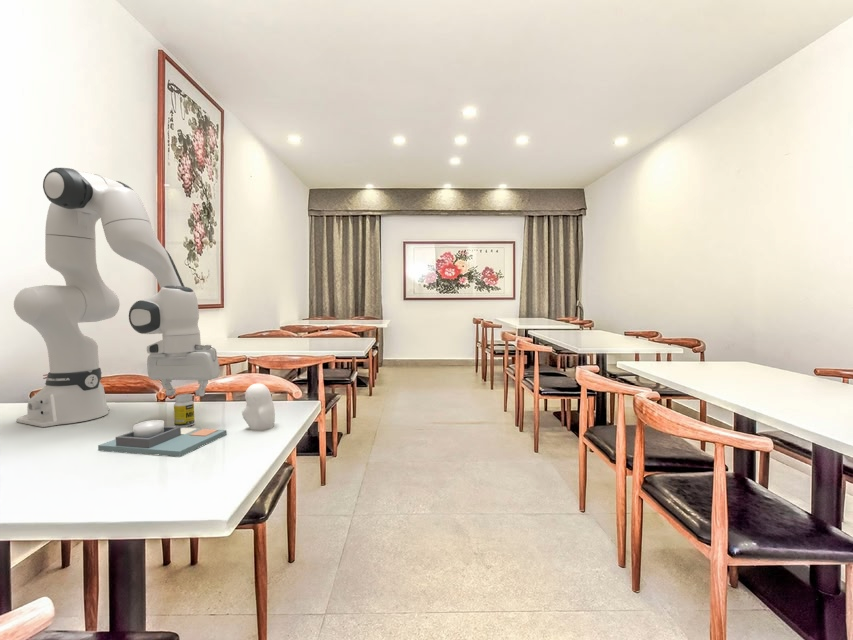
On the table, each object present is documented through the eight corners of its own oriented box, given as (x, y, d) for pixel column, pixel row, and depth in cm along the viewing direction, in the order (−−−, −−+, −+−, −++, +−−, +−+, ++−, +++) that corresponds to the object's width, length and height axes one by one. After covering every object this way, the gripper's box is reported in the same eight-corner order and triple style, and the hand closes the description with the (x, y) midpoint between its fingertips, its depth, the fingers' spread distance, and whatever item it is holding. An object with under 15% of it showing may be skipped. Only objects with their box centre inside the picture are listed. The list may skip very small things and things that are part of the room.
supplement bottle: (188, 428, 111) (186, 397, 111) (170, 428, 111) (169, 397, 111) (198, 422, 116) (197, 393, 116) (181, 422, 116) (180, 393, 116)
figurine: (239, 430, 108) (237, 385, 108) (259, 422, 116) (257, 379, 115) (262, 432, 106) (260, 386, 106) (281, 424, 113) (279, 380, 113)
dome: (127, 443, 96) (126, 425, 96) (149, 435, 102) (149, 417, 101) (149, 445, 94) (148, 426, 94) (170, 436, 100) (169, 418, 100)
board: (98, 450, 95) (97, 436, 95) (154, 430, 110) (153, 418, 110) (179, 456, 90) (179, 442, 90) (226, 434, 105) (226, 422, 105)
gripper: (223, 343, 113) (226, 393, 114) (160, 344, 118) (164, 392, 118) (206, 346, 107) (210, 398, 108) (141, 347, 111) (144, 398, 112)
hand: (185, 395), depth 113 cm, fingers open, 8 cm apart
